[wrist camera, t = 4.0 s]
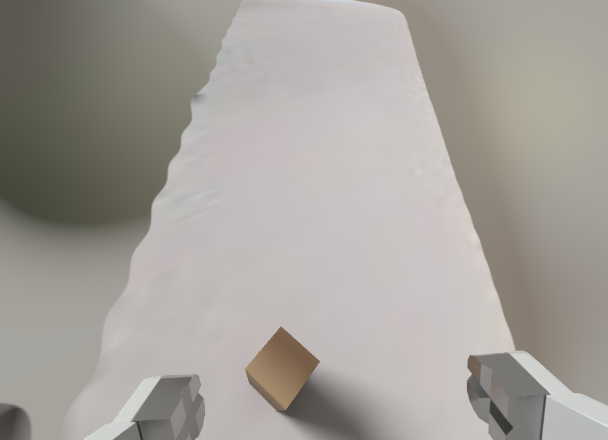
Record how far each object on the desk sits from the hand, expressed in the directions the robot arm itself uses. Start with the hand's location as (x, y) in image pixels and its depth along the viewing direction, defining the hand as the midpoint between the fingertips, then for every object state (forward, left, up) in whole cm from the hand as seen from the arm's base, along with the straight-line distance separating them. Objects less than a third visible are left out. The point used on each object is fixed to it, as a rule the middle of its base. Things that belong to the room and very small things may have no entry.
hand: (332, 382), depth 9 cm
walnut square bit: (+1, +2, -26) cm, 27 cm away
